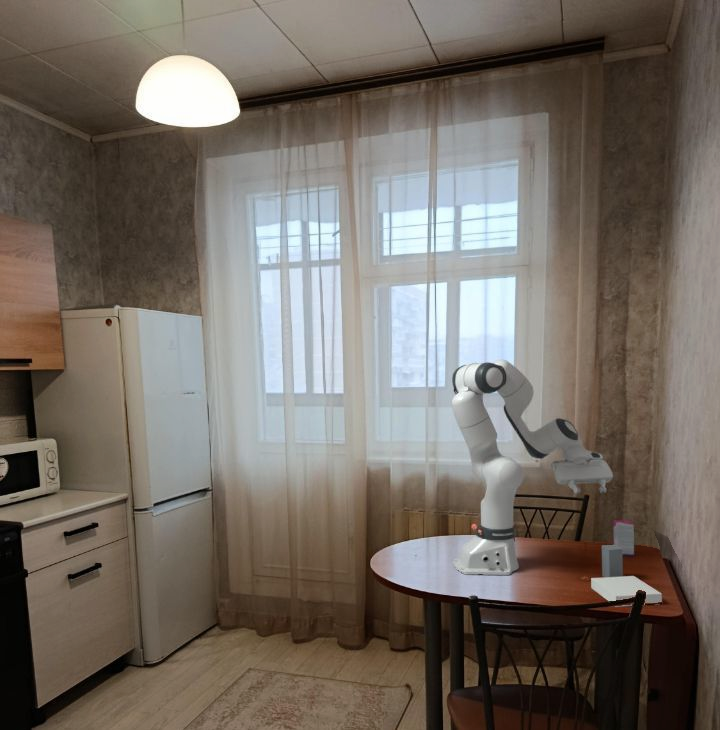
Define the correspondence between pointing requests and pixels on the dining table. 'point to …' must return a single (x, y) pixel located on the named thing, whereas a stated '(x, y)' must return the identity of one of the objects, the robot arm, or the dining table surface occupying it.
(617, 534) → the supplement box
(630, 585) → the plinth
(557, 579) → the dining table surface
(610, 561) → the grey rectangular block
